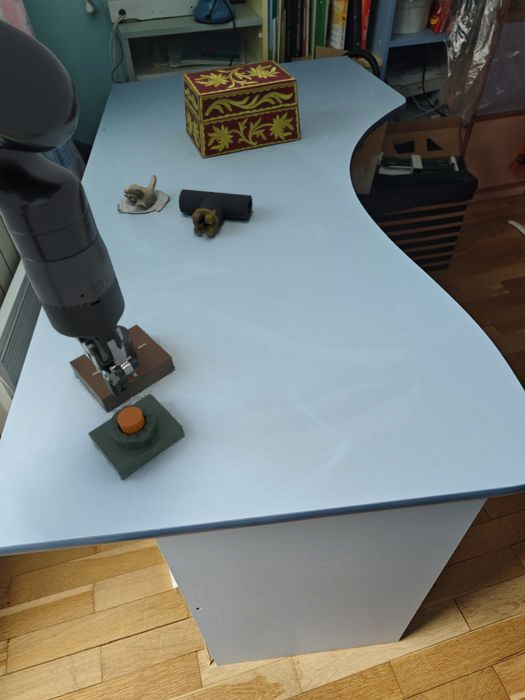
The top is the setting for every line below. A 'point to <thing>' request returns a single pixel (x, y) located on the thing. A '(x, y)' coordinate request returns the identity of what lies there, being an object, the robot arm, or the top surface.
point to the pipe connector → (213, 208)
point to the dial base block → (151, 370)
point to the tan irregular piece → (142, 198)
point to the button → (131, 420)
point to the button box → (137, 437)
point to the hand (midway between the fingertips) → (120, 390)
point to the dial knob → (128, 342)
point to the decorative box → (241, 108)
